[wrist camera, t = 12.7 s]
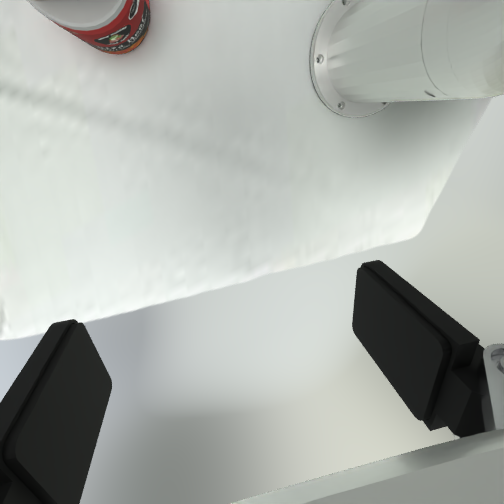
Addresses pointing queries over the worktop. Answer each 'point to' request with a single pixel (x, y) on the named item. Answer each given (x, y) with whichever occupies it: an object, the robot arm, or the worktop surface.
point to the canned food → (100, 21)
